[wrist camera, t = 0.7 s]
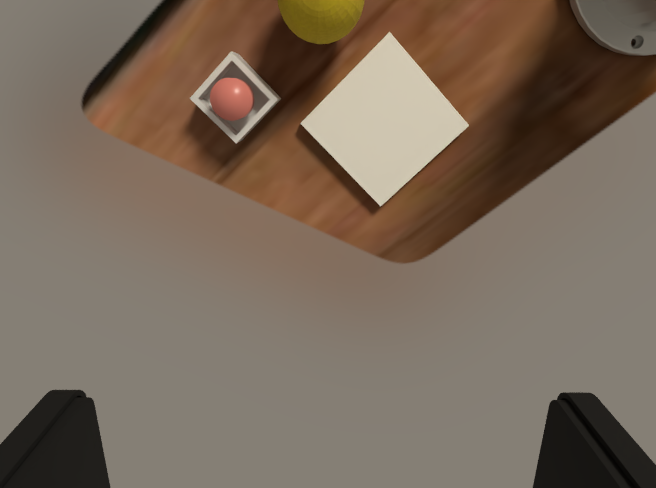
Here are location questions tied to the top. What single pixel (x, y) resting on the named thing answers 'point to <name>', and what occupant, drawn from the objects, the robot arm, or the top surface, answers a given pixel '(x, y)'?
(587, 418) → the robot arm
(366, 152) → the paper pad
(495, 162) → the top surface
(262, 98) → the button base
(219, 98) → the button
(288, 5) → the lemon
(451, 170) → the top surface
